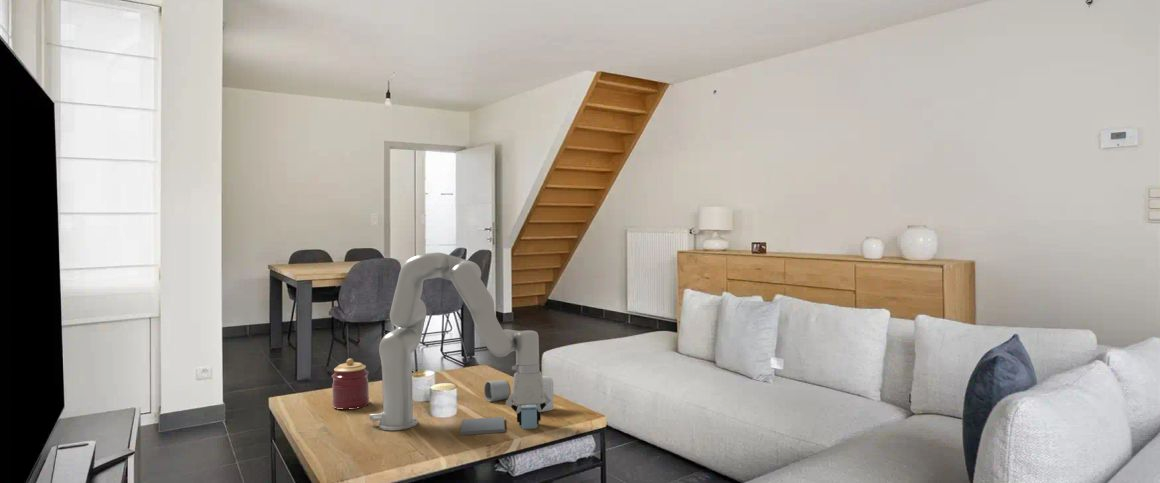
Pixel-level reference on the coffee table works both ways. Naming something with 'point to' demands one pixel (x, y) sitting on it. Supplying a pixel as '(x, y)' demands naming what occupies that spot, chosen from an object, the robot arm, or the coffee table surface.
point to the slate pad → (482, 425)
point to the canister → (350, 385)
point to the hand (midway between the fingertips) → (528, 423)
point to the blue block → (528, 417)
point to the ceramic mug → (497, 390)
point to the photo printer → (547, 393)
